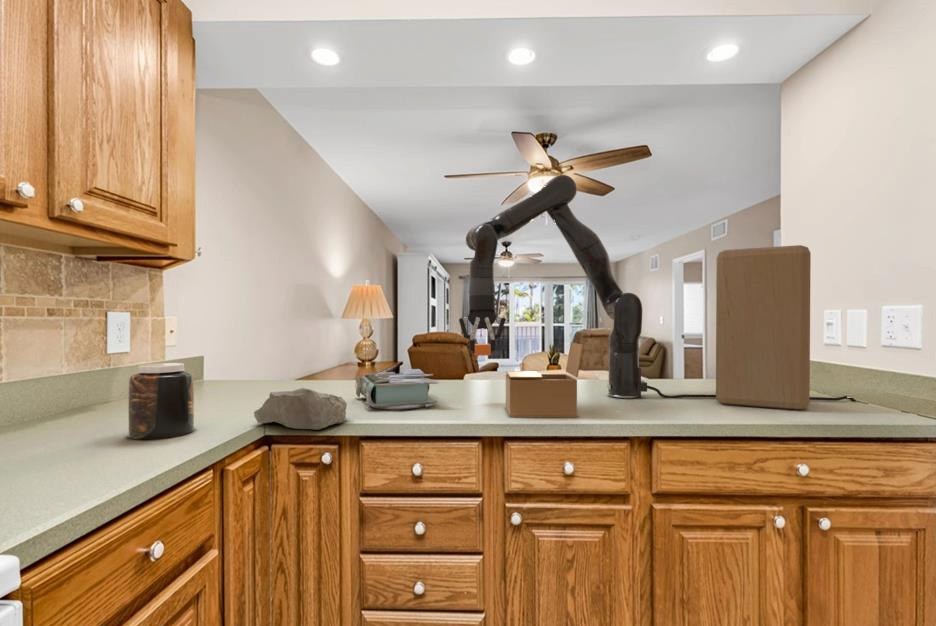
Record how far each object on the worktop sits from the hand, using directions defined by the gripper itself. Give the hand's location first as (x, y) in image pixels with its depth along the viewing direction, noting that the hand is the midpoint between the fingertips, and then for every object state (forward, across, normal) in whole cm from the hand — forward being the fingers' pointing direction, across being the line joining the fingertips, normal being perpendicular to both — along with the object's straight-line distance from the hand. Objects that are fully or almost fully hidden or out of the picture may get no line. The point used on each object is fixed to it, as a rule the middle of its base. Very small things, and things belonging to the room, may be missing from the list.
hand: (482, 352), depth 141 cm
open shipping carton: (+15, -15, +12) cm, 24 cm away
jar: (+15, +71, +36) cm, 81 cm away
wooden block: (+16, -83, -3) cm, 84 cm away
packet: (+1, 0, 0) cm, 1 cm away
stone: (+15, +44, +26) cm, 53 cm away
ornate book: (+15, +25, -3) cm, 30 cm away
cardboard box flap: (+1, -24, +12) cm, 27 cm away
